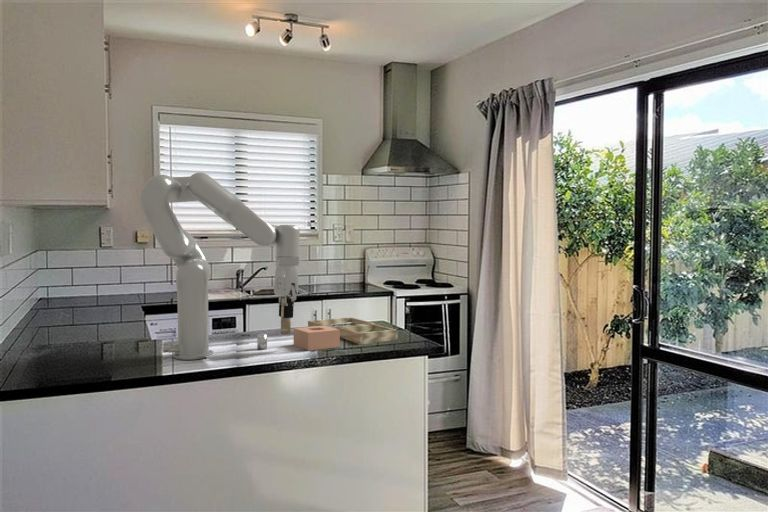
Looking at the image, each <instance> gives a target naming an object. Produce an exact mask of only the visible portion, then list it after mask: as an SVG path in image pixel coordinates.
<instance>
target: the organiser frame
mask: <svg viewBox="0 0 768 512" xmlns="http://www.w3.org/2000/svg"><path fill="white" fill-rule="evenodd" d="M346 323H352V325H351V324H350V325H340V324H346ZM337 324H339V326H331V325H337ZM323 325H324V326H328V327H331V328H335V329H339V330H340V338H342V339H345V340H347V341H350V342H352V343H355V344H357V345H359V346H361V345H369V344H374V343H381V342H388V341H394V340H398V329H396V328H391V327H387V326H382V325H379V324H377V323H376V322H372V321H367V320H363V319H360V318H355V317H340V318H329V319H317V320H308V321H307V327H312V326H323ZM372 331H376V332H372Z"/></svg>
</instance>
